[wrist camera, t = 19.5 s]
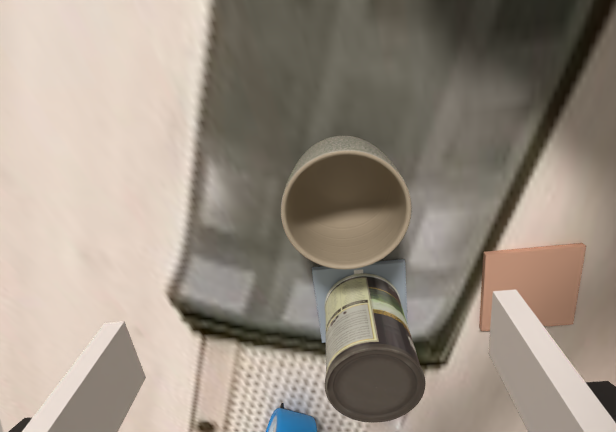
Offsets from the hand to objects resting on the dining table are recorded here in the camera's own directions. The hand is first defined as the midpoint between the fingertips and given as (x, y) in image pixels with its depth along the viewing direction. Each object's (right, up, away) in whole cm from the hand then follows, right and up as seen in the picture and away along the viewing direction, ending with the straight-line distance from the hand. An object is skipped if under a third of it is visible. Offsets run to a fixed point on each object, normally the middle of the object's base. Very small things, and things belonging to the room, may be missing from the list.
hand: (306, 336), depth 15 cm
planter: (+4, +9, +34) cm, 35 cm away
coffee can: (+7, -8, +40) cm, 42 cm away
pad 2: (+29, -5, +39) cm, 49 cm away
